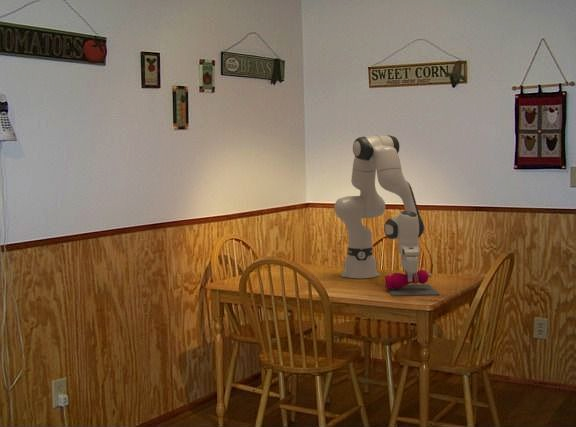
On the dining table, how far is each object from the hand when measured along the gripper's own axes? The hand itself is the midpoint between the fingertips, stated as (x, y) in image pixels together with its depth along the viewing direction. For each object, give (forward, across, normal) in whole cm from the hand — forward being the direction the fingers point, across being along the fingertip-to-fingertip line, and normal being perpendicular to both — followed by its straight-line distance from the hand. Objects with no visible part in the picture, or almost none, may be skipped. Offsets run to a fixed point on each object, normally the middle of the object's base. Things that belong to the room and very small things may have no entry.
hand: (408, 280), depth 343 cm
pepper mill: (+1, 0, -10) cm, 10 cm away
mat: (+4, 0, +1) cm, 5 cm away
